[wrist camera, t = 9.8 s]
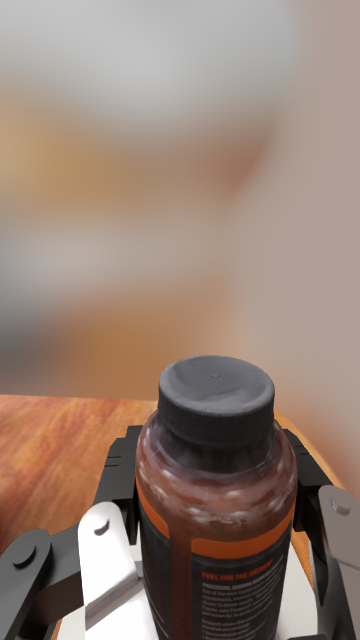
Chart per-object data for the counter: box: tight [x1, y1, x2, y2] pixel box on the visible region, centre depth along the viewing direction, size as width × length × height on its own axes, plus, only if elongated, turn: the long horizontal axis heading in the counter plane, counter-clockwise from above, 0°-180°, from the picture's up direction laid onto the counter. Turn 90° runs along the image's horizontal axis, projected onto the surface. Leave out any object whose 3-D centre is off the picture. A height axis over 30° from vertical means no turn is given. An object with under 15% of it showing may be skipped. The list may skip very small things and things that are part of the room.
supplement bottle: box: [135, 355, 298, 640], centre depth 9 cm, size 6×6×11 cm
